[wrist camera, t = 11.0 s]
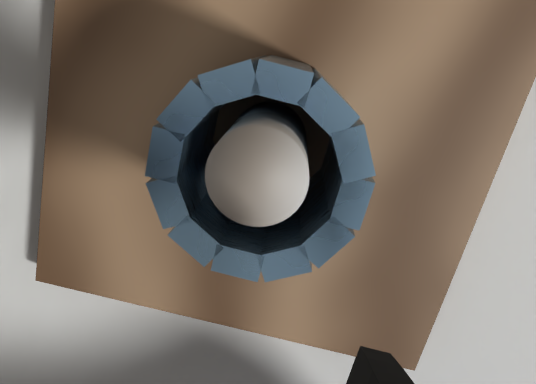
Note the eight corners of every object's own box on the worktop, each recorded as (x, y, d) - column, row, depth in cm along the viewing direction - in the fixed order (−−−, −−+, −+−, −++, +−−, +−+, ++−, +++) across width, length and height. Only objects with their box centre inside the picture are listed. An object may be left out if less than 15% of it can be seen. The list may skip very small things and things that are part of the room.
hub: (371, 80, 15) (405, 96, 10) (325, 229, 17) (334, 302, 12) (209, 38, 15) (167, 35, 10) (180, 192, 17) (132, 251, 12)
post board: (570, -49, 14) (749, -111, 9) (408, 354, 19) (454, 483, 14) (83, -169, 14) (-62, -312, 8) (48, 268, 19) (-57, 362, 14)
